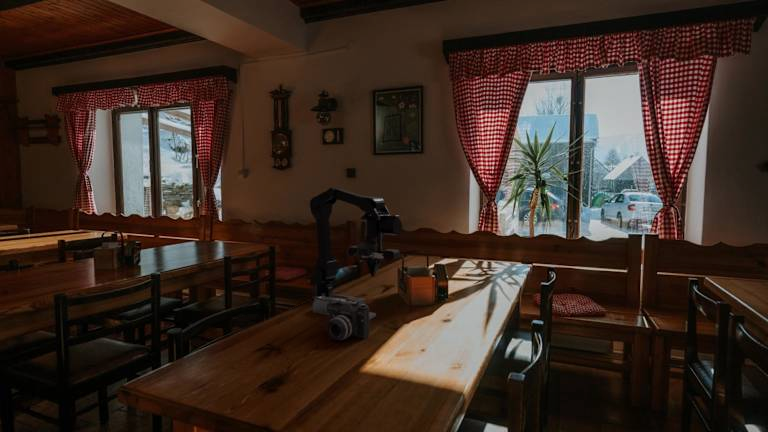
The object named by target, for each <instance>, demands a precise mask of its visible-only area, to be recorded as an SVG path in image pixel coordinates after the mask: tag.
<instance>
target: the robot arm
mask: <svg viewBox="0 0 768 432" xmlns="http://www.w3.org/2000/svg"><path fill="white" fill-rule="evenodd" d="M339 201H340V202H344V203H347V204H350V205H353V206H355V207H357V208H358V209H359V210H360V211H362V212H363V213H364V214H363V215H362V216H361V217H360V220H365V235H364V236H363V239H362V241H361V242H360V243H359V244H358V245H352V246H348V247H347V251H346V252H347V254H346V255H347V256H353V257H354V256H356V254H357V256H359V257H360V258H361V259H363V260H364V261H365V264H366V265H367V267H368V270H369V273H370V274H369V275H370V276H371V277H375V276H376V274H377V272H378V269H379V267H380V265H381V263H382V262H383V260H390V261H391V260H392V261H393V260H396V259H400V258H401V252H400V250H399V249H395V248H394V249H393V248H387V249H385V250H384V246H383V245H382V239H384V235H391V236H399V235H401V233H402V231H403V223H402V220H401V219H400V215H399V214H398V215H397V214H393V215H391V213H390V211H389V209H388V208H387V206H386V204H385V200H384V199H383V197H379V196H367V195H361V194H359V193H355V192H352V191H350V190H346V189H343V188H342V187H337V186H335V187H333V186H332V187H330V188H328V189H327V190H325V191H323V192H321V193H319V194H318V195H316V196H313V197H312V198H311V199H310V201H309V208H310V213H311V215H312V217H313V218H314V219H315V224H316V226H315V228H316V240H317V248H318V249H317V251H318V259H317V261H316V263H315V270H314V271H315V272H314V273H312V275H311V276H310V277H309V281H310V284H311V285H313V296H311V297H310V299H311V300H314V296H318V297H321V296H322V293H326V297H328V294H330V293H332V294H333V286H332V282H335V281H336V277H337V275H338V271H339V262H338V259H336V260H335V259H334V257H333V255H332V243H331V230H330V217H331V215H332V213H333V206H334V205H335V204H336V203H337V202H339ZM383 234H384V235H383Z"/></svg>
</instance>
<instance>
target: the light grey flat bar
mask: <svg viewBox="0 0 768 432" xmlns="http://www.w3.org/2000/svg"><path fill="white" fill-rule="evenodd" d="M319 299H323V300H329V301H338V302H339V298H332V297H325V296H323V297H320V298H319ZM341 302H349V301H346V299H341Z"/></svg>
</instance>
